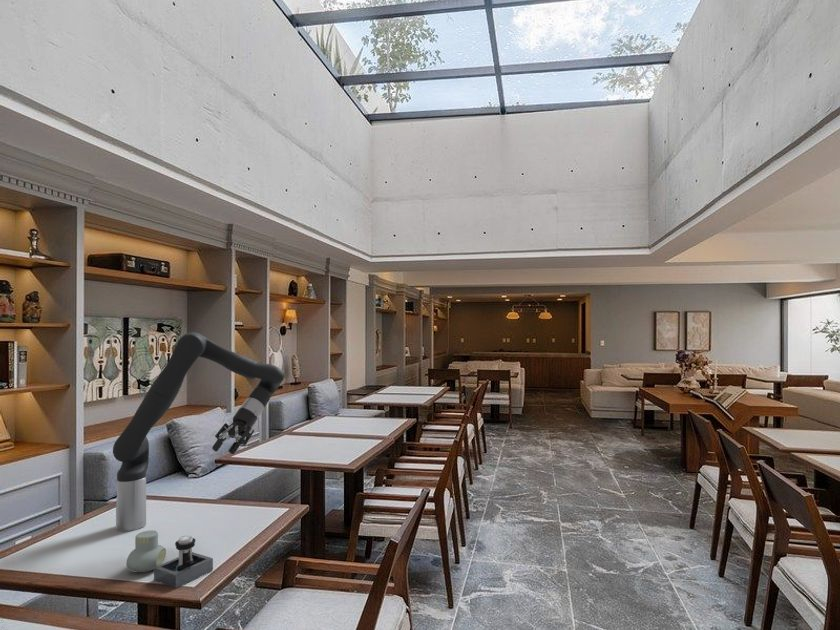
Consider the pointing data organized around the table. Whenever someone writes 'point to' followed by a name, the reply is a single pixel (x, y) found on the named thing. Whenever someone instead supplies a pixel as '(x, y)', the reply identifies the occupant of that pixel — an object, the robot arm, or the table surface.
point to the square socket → (182, 571)
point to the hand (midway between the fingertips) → (222, 451)
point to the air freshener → (146, 552)
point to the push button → (185, 552)
